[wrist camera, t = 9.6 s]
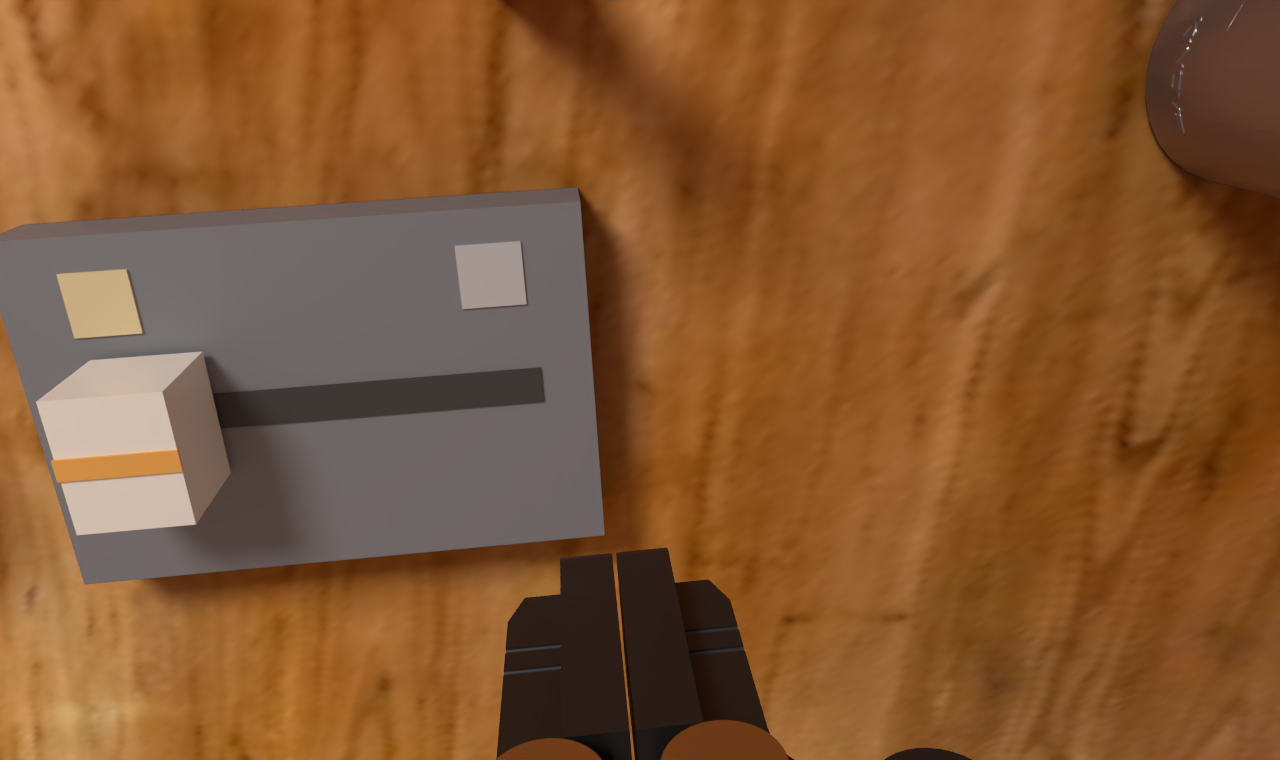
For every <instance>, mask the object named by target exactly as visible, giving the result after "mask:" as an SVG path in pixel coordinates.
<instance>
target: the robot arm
mask: <svg viewBox="0 0 1280 760" xmlns="http://www.w3.org/2000/svg"><path fill="white" fill-rule="evenodd" d="M1146 104H1147V110H1148V116H1149V122H1150V125H1151V127H1152V129H1153V132H1154V134H1155V137H1156V139H1157V142H1158V143H1159V145H1160V146H1161V147H1162V149H1163V150H1164V151H1165V153H1166V154H1167V155H1168V157H1169V158H1170V159H1171V160H1172V161H1174V162H1175V163H1176V164H1177V165H1179V166H1180V167H1181V168H1182V169H1184V170H1185V171H1186V172H1189V173H1191V174H1193V175H1196V176H1198V177H1200V178H1203V179H1205V180H1209V181H1213V182H1217V183H1221V184H1225V185H1229V186H1233V187H1237V188H1241V189H1245V190H1249V191H1253V192H1257V193H1261V194H1265V195H1268V196H1271V197H1275V198H1279V199H1280V0H1178V1H1177V3H1176V4H1175V6H1174V7H1173V9H1172V10H1171V12H1170V13H1169V15H1168V17H1167V18H1166V20H1165V21H1164V23H1163V25H1162V27H1161V30H1160V32H1159V34H1158V37H1157V39H1156V41H1155V44H1154V46H1153V49H1152V53H1151V57H1150V62H1149V66H1148V70H1147V77H1146ZM616 556H617V569H618V581H619V593H620V605H621V618H622V630H623V642H624V654H625V665H626V676H627V686H628V696H629V706H630V716H631V725H632V735H633V745H634V754H635V760H794V759H792V758H791V757H789V756H788V755H787V754H786V752H785V750H784V748H783V747H782V746H781V744H780V743H779V742H778V741H777V740H776V739H775V738H774V737H773V736H772V735H770V733H769V730H768V728H767V725H766V721H765V718H764V714H763V711H762V708H761V704H760V701H759V697H758V694H757V691H756V687H755V684H754V680H753V677H752V673H751V670H750V667H749V663H748V660H747V656H746V653H745V651H744V648H743V643H742V639H741V636H740V633H739V630H738V628H737V622H736V619H735V616H734V612H733V609H732V605H731V602H730V599H728V598H727V597H726V596H725V595H724V594H723V593H722V592H721V591H720V590H719V589H718V588H717V587H716V586H715V585H714V584H713V583H712V582H711V581H709V580H700V581H690V582H680V583H675V582H674V577H673V572H672V567H671V562H670V557H669V552H668V549H667V548H658V549H648V550H637V551H627V552H617V553H616ZM560 573H561V594H560V595H550V596H540V597H530V598H525V599H524V600H523V602H522V603H521V604H520V606H519V607H518V609H517V610H516V612H515V613H514V614H513V616H512V617H511V619H510V620H509V621H508V627H507V640H506V654H505V664H504V676H503V688H502V700H501V712H500V724H499V737H498V749H497V758H496V760H632V756H631V744H630V732H629V721H628V711H627V701H626V691H625V681H624V671H623V661H622V651H621V641H620V631H619V621H618V611H617V601H616V591H615V581H614V570H613V560H612V553H608V554H598V555H588V556H577V557H567V558H561V561H560ZM885 760H971V759H969V758H967V757H965V756H963V755H960V754H957V753H954V752H951V751H946V750H942V749H933V748H916V749H909V750H904V751H901V752H898V753H895V754H893V755H891V756H889V757H888V758H886V759H885Z"/></svg>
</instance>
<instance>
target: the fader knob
mask: <svg viewBox="0 0 1280 760" xmlns="http://www.w3.org/2000/svg"><path fill="white" fill-rule="evenodd" d="M36 404H37V407H38V410H39V414H40V417H41V420H42V423H43V427H44V430H45V433H46V437H47V440H48V443H49V446H50V450H51V453H52V456H53V459H54V460H51V464H52V467H53V471H54V474H55V477H56V480H57V483H59V482H61V485H62V489H63V492H64V495H65V498H66V502H67V505H68V508H69V512H70V515H71V518H72V521H73V525H74V528H75V531H76V534H77V535H86V534H97V533H108V532H119V531H130V530H141V529H152V528H163V527H174V526H185V525H196V524H197V522H198V521H199V519H200V518H201V516H202V515H203V513H204V512H205V510H206V509H207V507H208V506H209V504H210V503H211V501H212V500H213V498H214V497H215V496H216V494H217V493H218V491H219V490H220V488H221V487H222V485H223V484H224V482H225V481H226V479H227V478H228V476H229V475H230V473H231V472H230V467H229V463H228V459H227V455H226V450H225V446H224V442H223V437H222V433H221V429H220V424H219V420H218V416H217V411H216V407H215V403H214V399H213V394H212V390H211V386H210V381H209V377H208V373H207V368H206V364H205V360H204V355H203V351H202V352H189V353H176V354H163V355H151V356H138V357H125V358H112V359H99V360H90V361H88V362H87V363H86V364H84V365H83V366H82V367H81V368H79V369H78V370H77V371H75V372H74V373H73V374H71V375H70V376H69V377H68V378H66V379H65V380H64V381H62V382H61V383H60V384H58V385H57V386H56V387H55V388H53V389H52V390H51V391H49V392H48V393H47V394H45V395H44V396H43V397H42V398H40V399H39V400H38V401H36Z"/></svg>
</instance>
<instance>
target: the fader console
mask: <svg viewBox="0 0 1280 760" xmlns="http://www.w3.org/2000/svg"><path fill="white" fill-rule="evenodd" d="M0 312H1V316H2V319H3V322H4V325H5V328H6V332H7V335H8V338H9V341H10V345H11V348H12V351H13V354H14V358H15V361H16V364H17V367H18V370H19V374H20V377H21V380H22V383H23V387H24V390H25V393H26V396H27V399H28V403H29V406H30V409H31V412H32V416H33V419H34V422H35V425H36V429H37V432H38V435H39V438H40V441H41V445H42V448H43V451H44V454H45V458H46V461H47V464H48V467H49V470H50V474H51V477H52V480H53V483H54V487H55V490H56V493H57V496H58V500H59V503H60V506H61V509H62V512H63V516H64V519H65V522H66V525H67V529H68V532H69V535H70V538H71V541H72V545H73V548H74V551H75V554H76V558H77V561H78V564H79V567H80V571H81V574H82V577H83V580H84V583H85V584H94V583H105V582H115V581H126V580H137V579H147V578H158V577H168V576H179V575H190V574H200V573H211V572H222V571H232V570H243V569H253V568H264V567H275V566H285V565H296V564H306V563H317V562H328V561H338V560H349V559H360V558H370V557H381V556H391V555H402V554H413V553H423V552H434V551H445V550H455V549H466V548H476V547H487V546H498V545H508V544H519V543H529V542H540V541H551V540H561V539H572V538H583V537H593V536H604V535H605V531H604V518H603V504H602V490H601V477H600V463H599V449H598V436H597V422H596V408H595V395H594V381H593V367H592V354H591V340H590V326H589V313H588V299H587V285H586V272H585V258H584V244H583V231H582V217H581V203H580V197H579V193H578V188H577V187H576V188H561V189H546V190H531V191H517V192H502V193H487V194H472V195H457V196H442V197H428V198H413V199H398V200H383V201H368V202H353V203H338V204H324V205H309V206H294V207H279V208H264V209H249V210H235V211H220V212H205V213H190V214H175V215H160V216H146V217H131V218H116V219H101V220H86V221H71V222H56V223H42V224H27V225H21V226H18V227H16V228H13V229H11V230H9V231H6V232H4V233H1V234H0ZM202 351H203V355H204V360H205V364H206V368H207V373H208V377H209V381H210V386H211V390H212V394H213V399H214V403H215V407H216V411H217V416H218V420H219V424H220V429H221V433H222V437H223V442H224V446H225V450H226V455H227V459H228V463H229V467H230V472H231V473H230V475H229V476H228V478H227V479H226V481H225V482H224V484H223V485H222V487H221V488H220V490H219V491H218V493H217V494H216V496H215V497H214V498H213V500H212V501H211V503H210V504H209V506H208V507H207V509H206V510H205V512H204V513H203V515H202V516H201V518H200V519H199V521H198V522H197V524H196V525H185V526H174V527H163V528H152V529H141V530H130V531H119V532H108V533H97V534H86V535H77V534H76V531H75V528H74V525H73V521H72V518H71V515H70V512H69V508H68V505H67V502H66V498H65V495H64V492H63V489H62V485H61V482H59V483H57V480H56V477H55V474H54V471H53V467H52V464H51V460H54V459H53V456H52V453H51V450H50V446H49V443H48V440H47V437H46V433H45V430H44V427H43V423H42V420H41V417H40V414H39V410H38V407H37V404H36V401H38V400H39V399H40V398H42V397H43V396H44V395H45V394H47V393H48V392H49V391H51V390H52V389H53V388H55V387H56V386H57V385H58V384H60V383H61V382H62V381H64V380H65V379H66V378H68V377H69V376H70V375H71V374H73V373H74V372H75V371H77V370H78V369H79V368H81V367H82V366H83V365H84V364H86V363H87V362H88V361H90V360H99V359H112V358H125V357H138V356H151V355H163V354H176V353H189V352H202Z"/></svg>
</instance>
